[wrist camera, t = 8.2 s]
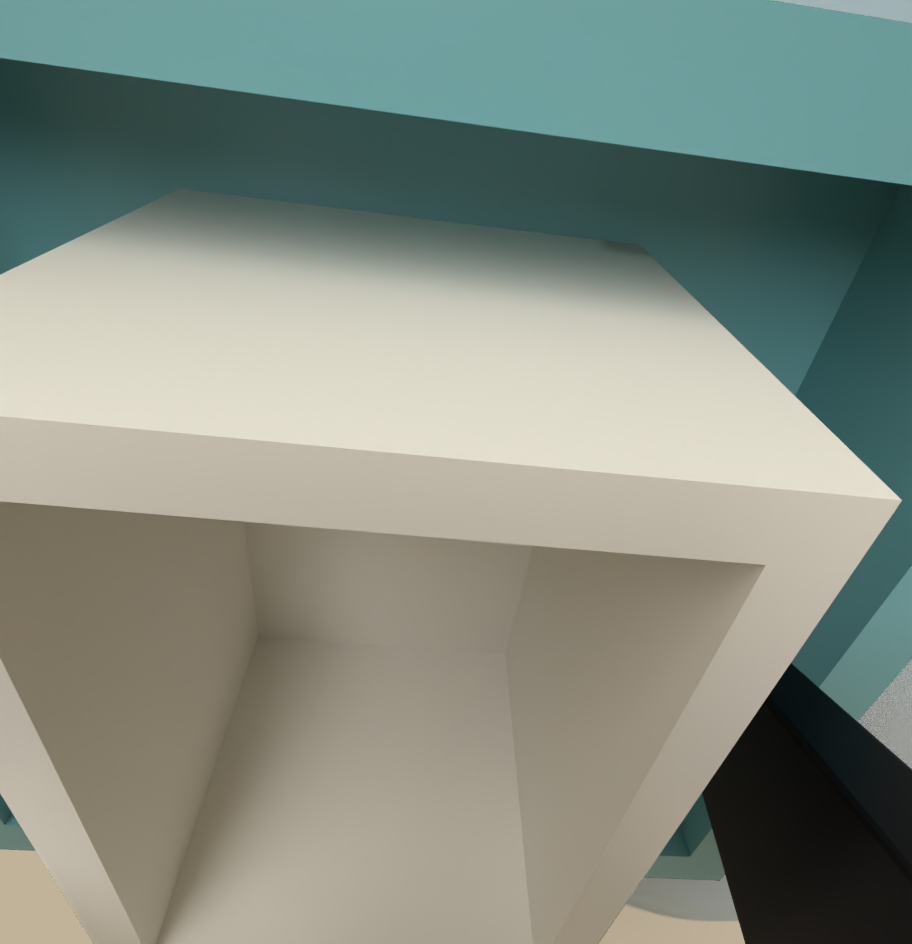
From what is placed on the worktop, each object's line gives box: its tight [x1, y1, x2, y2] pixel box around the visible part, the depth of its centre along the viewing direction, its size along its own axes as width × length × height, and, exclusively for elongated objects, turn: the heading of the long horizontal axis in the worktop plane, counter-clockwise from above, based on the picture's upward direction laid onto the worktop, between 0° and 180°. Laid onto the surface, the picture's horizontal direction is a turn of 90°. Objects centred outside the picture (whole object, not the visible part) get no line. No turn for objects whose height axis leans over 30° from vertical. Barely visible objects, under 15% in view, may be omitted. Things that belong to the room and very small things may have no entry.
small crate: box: [0, 189, 902, 944], centre depth 8 cm, size 6×9×6 cm
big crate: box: [0, 0, 912, 881], centre depth 10 cm, size 15×14×4 cm
